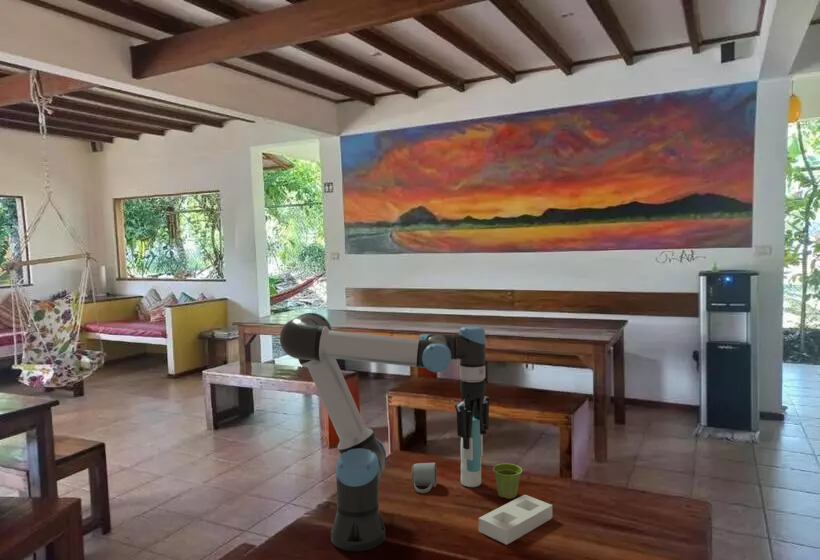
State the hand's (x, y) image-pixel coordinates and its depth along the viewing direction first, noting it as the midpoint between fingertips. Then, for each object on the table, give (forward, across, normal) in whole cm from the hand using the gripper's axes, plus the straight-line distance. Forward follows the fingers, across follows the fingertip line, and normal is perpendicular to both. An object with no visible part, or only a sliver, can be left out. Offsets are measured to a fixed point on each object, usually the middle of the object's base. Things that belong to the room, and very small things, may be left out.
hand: (473, 456), depth 171 cm
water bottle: (+19, +18, +17) cm, 31 cm away
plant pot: (+19, +20, +3) cm, 28 cm away
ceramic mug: (+19, +5, +26) cm, 33 cm away
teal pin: (+4, 0, 0) cm, 4 cm away
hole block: (+19, +6, -11) cm, 23 cm away
